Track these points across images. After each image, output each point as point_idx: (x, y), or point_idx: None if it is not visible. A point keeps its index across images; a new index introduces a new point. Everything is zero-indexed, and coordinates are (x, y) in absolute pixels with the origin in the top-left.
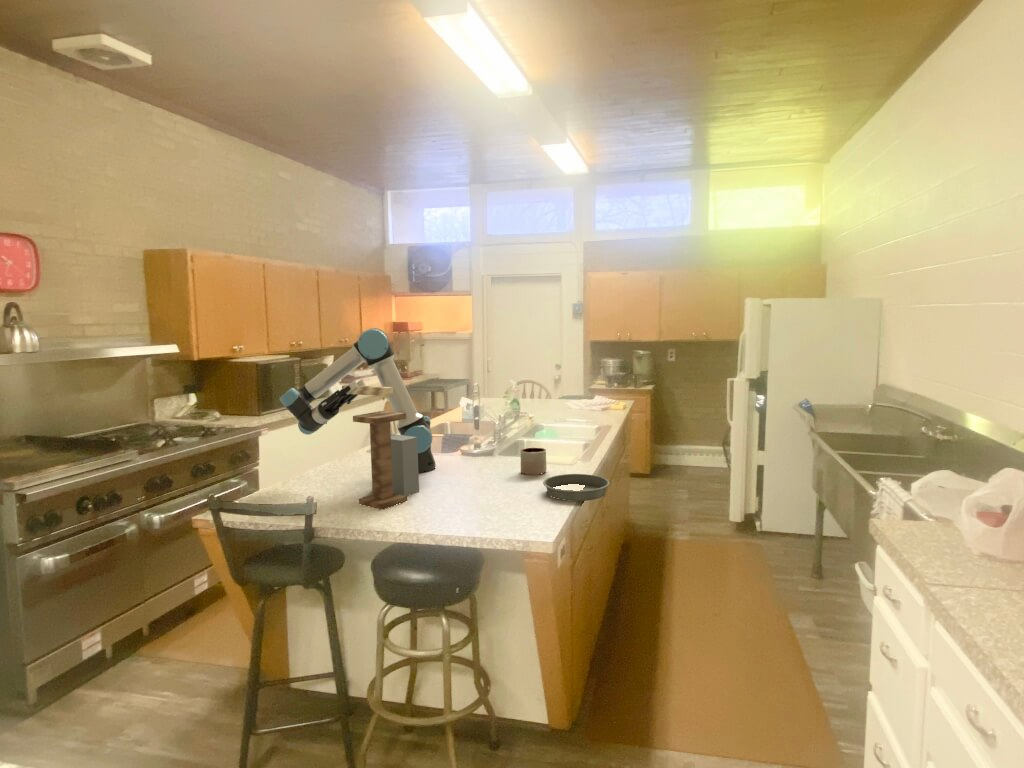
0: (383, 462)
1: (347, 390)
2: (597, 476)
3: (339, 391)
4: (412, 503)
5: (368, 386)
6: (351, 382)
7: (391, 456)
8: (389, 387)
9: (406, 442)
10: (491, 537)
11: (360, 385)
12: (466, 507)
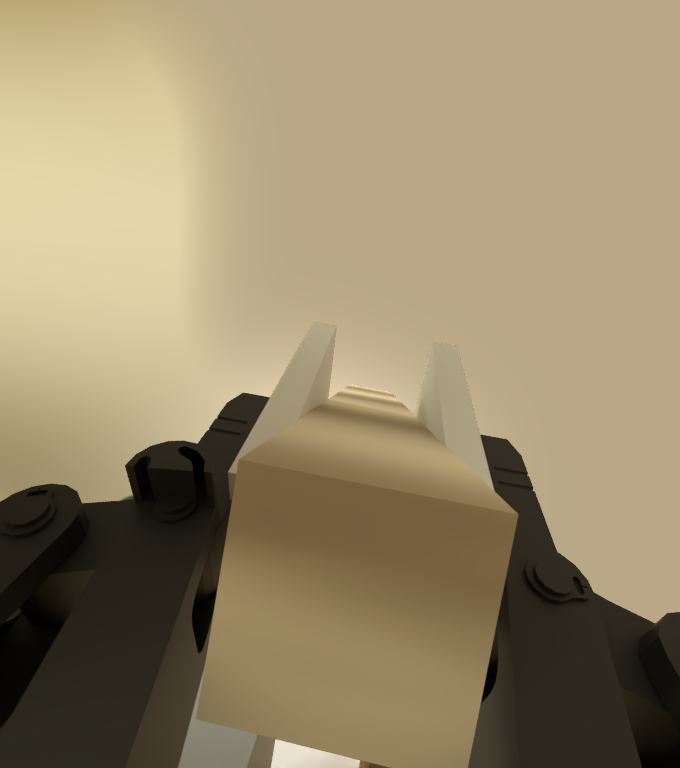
0: None
1: None
2: (132, 495)
3: (642, 622)
4: (324, 763)
5: (369, 398)
6: (462, 375)
7: (262, 764)
8: (370, 388)
9: None
10: None
11: (320, 403)
12: None
